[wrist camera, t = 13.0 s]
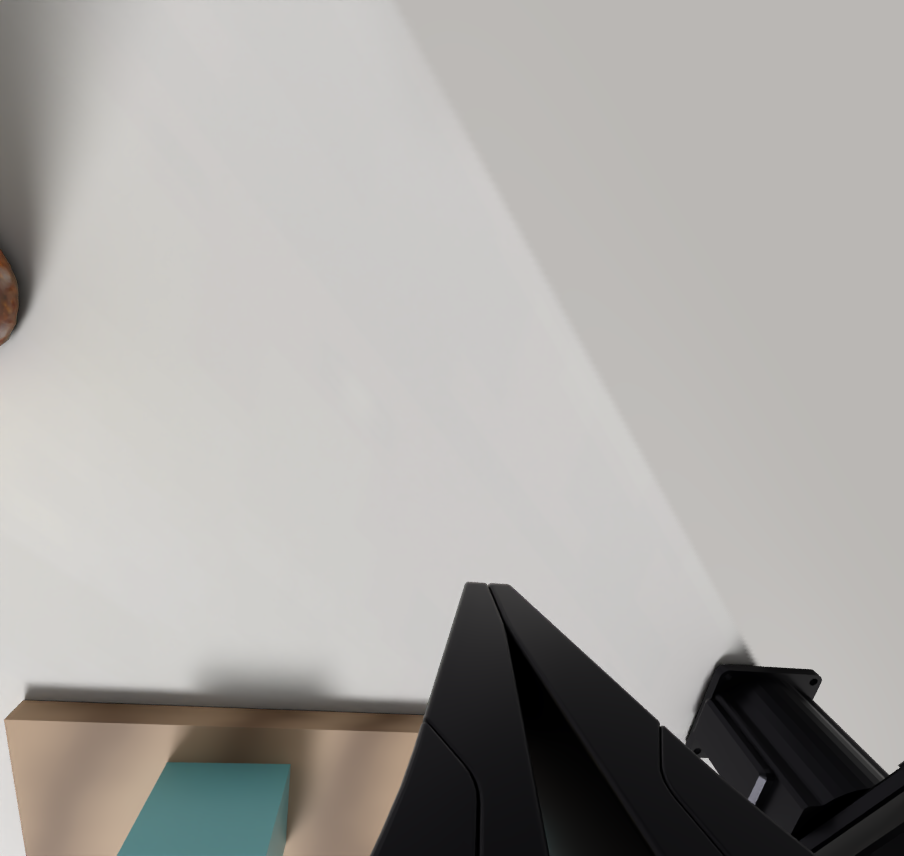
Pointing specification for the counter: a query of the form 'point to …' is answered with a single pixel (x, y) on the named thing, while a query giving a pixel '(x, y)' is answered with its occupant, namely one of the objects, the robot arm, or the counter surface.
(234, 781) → the teal block
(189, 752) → the post base
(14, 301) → the sauce bottle
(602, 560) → the counter surface
